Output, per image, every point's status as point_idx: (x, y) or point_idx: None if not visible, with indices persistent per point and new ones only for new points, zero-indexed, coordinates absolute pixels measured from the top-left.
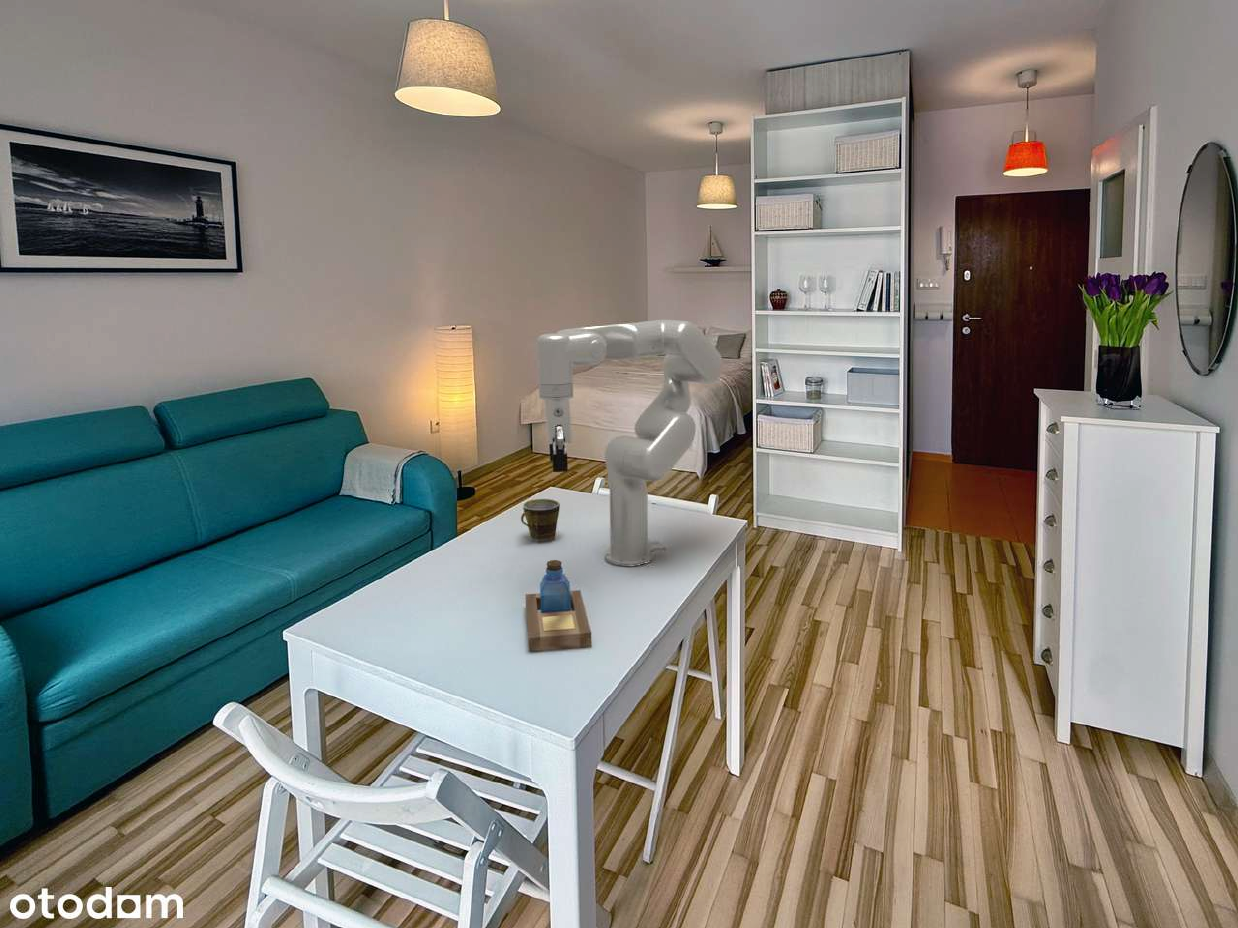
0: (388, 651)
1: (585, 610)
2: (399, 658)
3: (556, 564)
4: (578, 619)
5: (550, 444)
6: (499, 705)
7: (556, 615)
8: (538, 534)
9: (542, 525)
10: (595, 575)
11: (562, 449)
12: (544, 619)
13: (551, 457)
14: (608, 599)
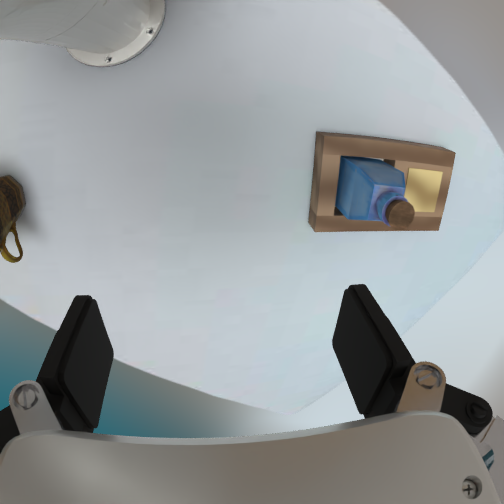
0: None
1: (400, 143)
2: None
3: (410, 212)
4: (421, 160)
5: (89, 432)
6: (483, 250)
7: None
8: (18, 210)
9: (9, 209)
10: (193, 87)
11: (459, 403)
12: None
13: (108, 365)
14: (314, 80)
